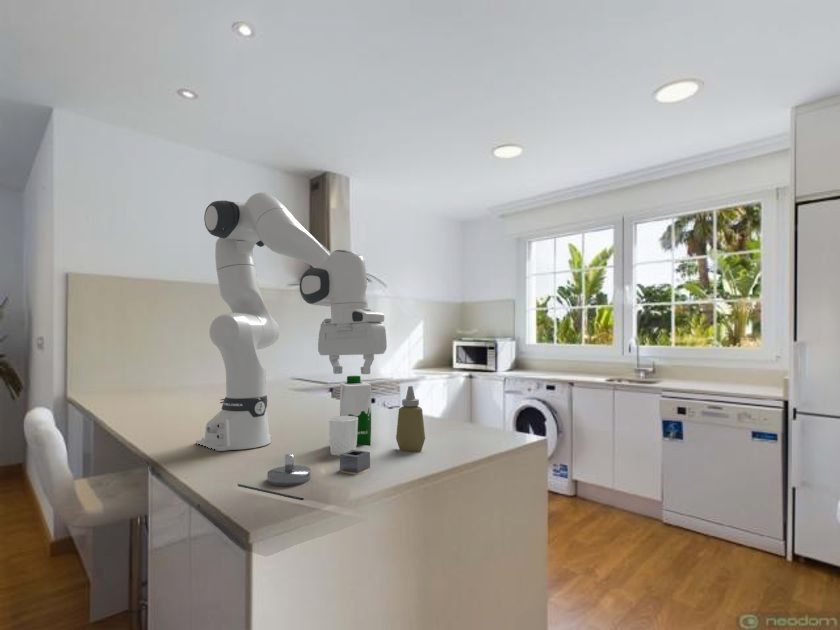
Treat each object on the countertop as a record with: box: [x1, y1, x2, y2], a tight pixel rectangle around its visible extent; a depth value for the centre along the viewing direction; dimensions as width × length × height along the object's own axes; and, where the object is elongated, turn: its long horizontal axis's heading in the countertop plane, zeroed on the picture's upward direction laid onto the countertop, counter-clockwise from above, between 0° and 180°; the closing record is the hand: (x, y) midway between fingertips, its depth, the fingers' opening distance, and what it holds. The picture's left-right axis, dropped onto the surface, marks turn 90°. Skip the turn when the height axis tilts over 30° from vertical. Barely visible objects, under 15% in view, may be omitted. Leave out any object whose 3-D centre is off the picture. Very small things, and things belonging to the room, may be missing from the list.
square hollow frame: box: [339, 449, 371, 474], centre depth 106 cm, size 5×5×4 cm
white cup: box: [327, 415, 358, 457], centre depth 121 cm, size 8×8×10 cm
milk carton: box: [339, 375, 372, 447], centre depth 133 cm, size 9×9×20 cm
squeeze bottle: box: [395, 385, 426, 453], centre depth 125 cm, size 8×8×18 cm
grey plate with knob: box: [237, 453, 312, 501], centre depth 98 cm, size 18×12×6 cm, turn 62°
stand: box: [339, 467, 371, 475], centre depth 106 cm, size 7×7×4 cm
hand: (351, 374), depth 108 cm, fingers open, 8 cm apart
